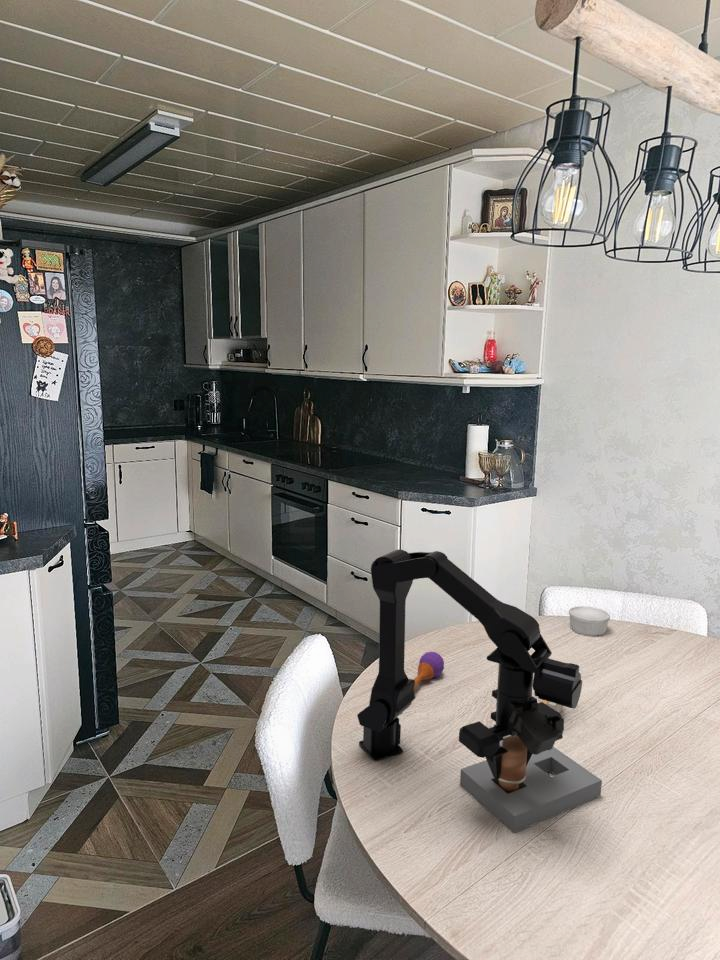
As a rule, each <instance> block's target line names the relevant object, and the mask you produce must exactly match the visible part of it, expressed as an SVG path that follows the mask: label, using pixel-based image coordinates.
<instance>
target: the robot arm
mask: <svg viewBox="0 0 720 960" xmlns="http://www.w3.org/2000/svg"><path fill="white" fill-rule="evenodd" d="M370 576H371V583H372V588H373V591H374V592H375V594H376V596H377V597H378V601H379V621H378V622H379V624H378V625H379V626H378V628H379V629H378V630H379V631H378V632H379V633H378V638H379V639H378V640H379V641H378V650H379V651H378V672H377V673H378V674H377V675H376V678H375V680H374V683H373V686H372V688H371V691H370V698H369V703H368V706H367V707H365V708H363V710H361V711H359V713H357V715H356V716H357V719H358V723H359V725H360V726H361V727H363V730H362V731H363V733H362V734H363V736H362V737H363V738H362V739H363V740H360V741H359V742H358V745H359V747H360V748H361V749H362V750H364V752H365V753H366V754H367V755H368V756H369V757H370V758H371V759H372V760H373V761H379V760H383V759H386V758H389V757H392V756H396V755H399V754H401V753H403V752H404V749H403V747H401V746H400V745H401V734H402V729H401V728H402V725H401V724H400V718H399V716H400V715H402V714H403V713H404V712H405V711H406V710H407V709H409V707H410V706H411V705H412V702H413V701H414V700H415V699H416V695H415V691H414V686H415V680H414V679H415V678H414V679H413V678H409V677H408V675H407V673H406V672H405V649H406V648H405V644H406V643H405V640H406V600H407V597H408V595H409V592H410V589H411V588H412V586H413V581H414V580H419V579H429V580H430V581H432V582H433V583H434V584H435V585H436V586H437V587H439V589H441V590H442V591H443V592H444V593H446V594H447V595H448V596H449V597H450V598H452V599H453V600H454V601H455V602H456V603H457V604H459V605H460V607H462V608H464V609H465V611H467V612H468V613H470V615H472V616H473V617H474V618H475V619H476V620H478V621H479V622H480V624H481V625H482V626H483V628H484V630H485V633H486V634H487V637H488V639H490V641H491V642H492V643H493V644H494V645H495V646H496V648H495V649H494V650H493V651H491V652H490V653H489V654H488V655H487V656H486V660H487V661H489V662H492V663H496V664H498V674H497V689H493V690H492V691H491V697H493V698H494V699H496V705H495V706H496V708H495V711H492V712H490V719H491V720H493V721H494V722H495V724H494V725H493V726H491V727H488V726H486V725H485V724H484V723H482V722H481V721H475V722H472V723H469V724H467V725H463V726H462V727H460V728H459V731H458V742H459V743H461V744H462V746H464V747H465V748H467V749H468V750H469V751H470V752H471V753H473V754H474V755H475V756H476V757H478V758H481V759H482V758H483V759H484V758H485V759H486V760H487V762H488V765H489V767H490V770H491V772H492V774H493V777H494V778H495V779H497V780H498V779H499V777H500V772H501V762H502V755H503V754H505V753H507V752H508V751H507V750H506V749H505V748H503V747H502V744H503V739H504V738H507V737H509V736H514V735H517V736H518V737H519V738H520V739H521V741H522V742H523V743H524V744H525V746H526V747H527V761H526V766H527V764H528V762H529V760H530V758H531V756H532V754H535V755H537V754H540V753H541V752H543V751H546V750H551V749H552V747H554V745H555V743H556V741H559V740H562V739H563V737H564V736H563V733H564V731H565V726H564V725H565V722H564V721H565V719H564V718H563V716H562V714H561V712H560V713H559V712H557V711H556V710H554V709H552V708H551V707H549V706H548V705H546V704H544V703H543V702H541V701H540V702H538V699H540V700H546V701H549V702H553V703H556V704H559V705H562V707H563V706H564V707H566V708H570V709H573V710H574V709H576V708H577V706H578V704H579V700H580V697H581V693H582V687H583V680H582V675H581V672H580V665H579V664H575V663H571V662H568V663H567V662H563V661H559V660H555V659H551V658H550V657H551V656H552V653H553V652H552V651H551V649H550V647H549V645H548V643H547V642H546V641H545V639H544V637H543V635H542V634H541V629H540V624H539V622H538V621H537V620H536V618H535V617H533V616H532V615H530V614H529V613H527V612H525V610H522V609H520V608H519V607H516V606H515V605H511V604H508V603H504V602H502V600H499V599H498V598H496V597H495V596H493V594H492V593H490V592H489V591H488V590H487V589H485V588H484V587H483V586H482V585H480V584H479V583H478V582H477V581H475V580H474V579H473V578H472V577H470V576H469V575H468V574H467V573H466V572H464V571H463V570H462V569H461V568H459V567H458V566H457V565H456V564H454V562H452V561H451V560H450V559H449V558H448V556H447V555H446V553H444V552H442V551H438V550H437V551H436V550H435V551H432V552H431V551H430V552H426V551H418V552H417V551H416V552H415V551H414V552H408V551H406V550H404V549H395V550H392V551H391V552H388V553H386V554H383V555H381V556H378V558H376V559H375V560H374V561H373V562H372V563H371V566H370ZM531 649H532V650H534V651H533V653H531V654H530V652H529V651H531ZM533 691H534V692H533ZM533 693H534V696H535V697H534V696H533ZM536 697H538V699H537V698H536Z"/></svg>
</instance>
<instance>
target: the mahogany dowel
mask: <svg viewBox="0 0 720 960" xmlns="http://www.w3.org/2000/svg"><path fill="white" fill-rule="evenodd" d="M502 747H503V748H505V749H506V750H507V751H508V752H507V753H505V754H503V755H502V762H501V772H500V777H499V779H498V780H499V784H498V786H499V787H500V788H501V789H503V790H504V791H505V792H506V793H507V794H509V793H511V792H514V791H516V790H518V789H519V783H522V782H523V781H524V780H525V778H526V761H527V747H526V746H525V744H524V743H523V742H522V741H521V739H520V738H519V737H518V736H517V735H514V736H509V737H507V738H504V739H503V744H502Z"/></svg>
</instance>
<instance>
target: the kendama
mask: <svg viewBox="0 0 720 960" xmlns="http://www.w3.org/2000/svg"><path fill="white" fill-rule="evenodd" d="M444 669H445V661H444V658H443V657H442V656H441V654H439V653H438V652H435V651H427V652H425V653H423V654H422V656H421V657H420V659H419V662H418V666H417V676H416V677H415V678H414V680H415V686H414V692H415V691H416V689H417V688H418V686H419V684H420V683H421V681H422V680H424V681H425V680H431V679H432V678H437V677H438V676H440V675H441V674H442V673H443V671H444Z"/></svg>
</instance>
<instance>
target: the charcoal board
mask: <svg viewBox="0 0 720 960" xmlns="http://www.w3.org/2000/svg"><path fill="white" fill-rule="evenodd" d="M549 773H551V774H553V775H552V776H551V775H550V774H549ZM459 777H460V779H459V785H460V786H461V787H463V788H464V789H465V790H466V791H467V792H468V793H469V794H470V795H471V796H472V797H473V798H475V799H476V800H477V801H478V802H479V803H480V804H481V805H482V806H483V807H485V809H487V811H489V812H490V813H491V814H492V815H493V816H494V817H496V818H497V819H498V820H499V821H500V822H501V823H502V824H503V825H504V826H505V827H506V828H508V829H509V830H510V831H511V832H512V833H513V834H514V833H517V832H520V831H521V830H524V829H527V828H528V827H530V826H534V825H536V824H538V823H540V822H543V821H545V820H547V819H550V818H552V817H554V816H557V815H558V814H561V813H563V812H566V811H568V810H571V809H573V808H574V807H577V806H580V805H582V804H585V803H587V802H589V801H592V800H594V799H596V798H598V796H599V797H601V795H602V794H601V793H602V785H603V783H602V782H603V780H602V779H601V778H600V777H598V776H596V775H595V774H593V772H590V771H589V770H588V769H586V768H585V767H583V766H582V765H581V764H579V763H578V762H577V761H575V760H573V758H571V757H569V756H567V754H565V753H564V752H562V751H561V750H559V749H557V748H556V747H555V746H553V747H552V749H551V750H546V751H543V752H541V753H540V754H537V755H535V754H532V756H531V758H530V760H529V762H528V764H527V766H526V778H525V780H524V781H523V782H522V783H519V789H518V790H516V791H514V792H511V793H509V794H507V793H506V792H505V791H504V790H503V789H501V788H500V787H499V786H498V784H499V780H497V779H495V778H494V777H493V774H492V772H491V770H490V767H489V765H488V762H487V760H482V761H480V762H478V763H474V764H471V765H468V766H465V767H463V768H460V775H459ZM591 799H592V800H591Z"/></svg>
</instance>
